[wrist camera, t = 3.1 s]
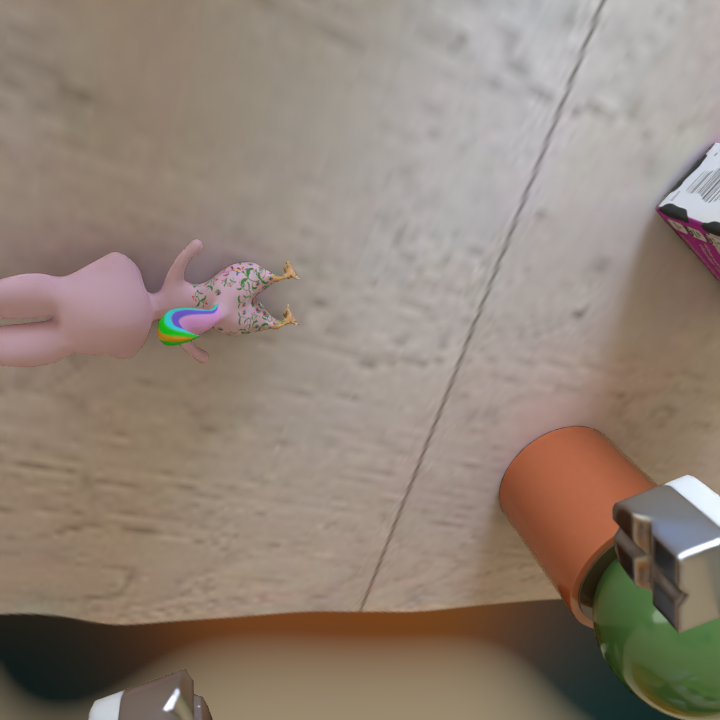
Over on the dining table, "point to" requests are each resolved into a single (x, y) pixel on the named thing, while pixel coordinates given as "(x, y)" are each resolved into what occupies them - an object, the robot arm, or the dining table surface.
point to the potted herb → (607, 568)
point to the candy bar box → (698, 209)
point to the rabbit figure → (129, 309)
